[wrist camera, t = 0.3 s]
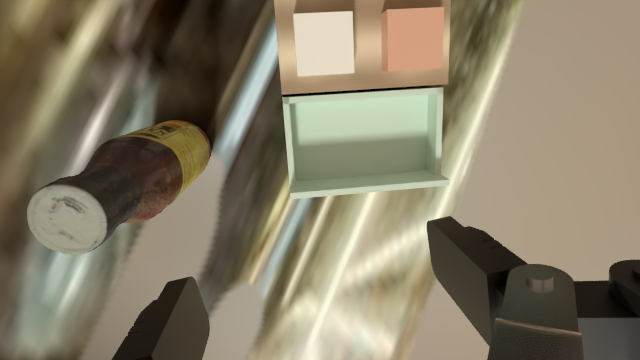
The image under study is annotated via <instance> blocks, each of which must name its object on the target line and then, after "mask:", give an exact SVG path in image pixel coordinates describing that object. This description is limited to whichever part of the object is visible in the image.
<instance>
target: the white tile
mask: <svg viewBox="0 0 640 360" xmlns="http://www.w3.org/2000/svg"><path fill="white" fill-rule="evenodd" d="M293 30H294V44H295V58H296V71H297V77H304V76H321V75H338V74H352V73H355V71H354V41H353V11H343V12H320V13H298V14H293Z"/></svg>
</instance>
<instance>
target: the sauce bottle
mask: <svg viewBox="0 0 640 360" xmlns="http://www.w3.org/2000/svg"><path fill="white" fill-rule="evenodd" d="M210 156H211V147H210V143H209V139H208V138H207V136H206V134H205V133H204V131H203V130H202V129H200V128H199V127H198V126H196V125H194V124H192V123H190V122H188V121H178V120H171V121H166V122H163V123H160V124H156V125H153V126H150V127H147V128H143V129H141V130H137V131H135V132H131V133H129V134H126V135H123V136H119V137H117V138H114V139H111V140H109V141H107V142H105V143H103V144H102V145H101V146H100V147H99V148H98V149H97V150H96V151H95V153H94V155H93V156H92V158H91V160H90V162H89V163H88V165H87V167H86V168H85V170H84V171H82V172H81V173H80V174H78V175H75V176H71V177H70V176H68V177H64V178H60V179H58V180H56V181H54V182H52V183H49V184H48V185H46V186H44V187H42V188H41V189H39V190H38V191H37V192H36V193H35V194H34V195H33V196H32V198H31V200H30V202H29V205H28V207H27V219H28V223H29V227H30V229H31V231H32V232H33V234H34V236H35V237H36V238H37V239H38V240H39V241H40V242H41V243H42V244H43V245H45V246H46V247H48V248H50V249H52V250H54V251H57V252H61V253H63V254H71V255H75V254H84V253H87V252H90V251H92V250H93V249H95V248H97V247H98V246H100V245H101V244H102V243H103V242H104V241H105V240H107V239H108V238H109V237H110V236H111V235H112V233H113V232H114V230H115V229H116V227H117V226H118V225H119V224H121V223H134V222H141V221H144V220H148V219H150V218H152V217H154V216H155V215H157V214H158V213H160V212H162V210H163V209H164V208H165V207H166V206H167V205H169V204H171V203H172V202H173V201H174V200H175V199H176V198H177V197H178V196H179V195H180V194H181V193H182V192H183V191H184V190H185V189H186V188H187V187H188V186H189V185H190V184H191V183H192V182H193V181H194V180H195V179H196V178H197V177H198V176H199V175H200V174H201V173H202V172H203V171H204V169H205V168H206V166H207V164H208V161H209V159H210Z"/></svg>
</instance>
